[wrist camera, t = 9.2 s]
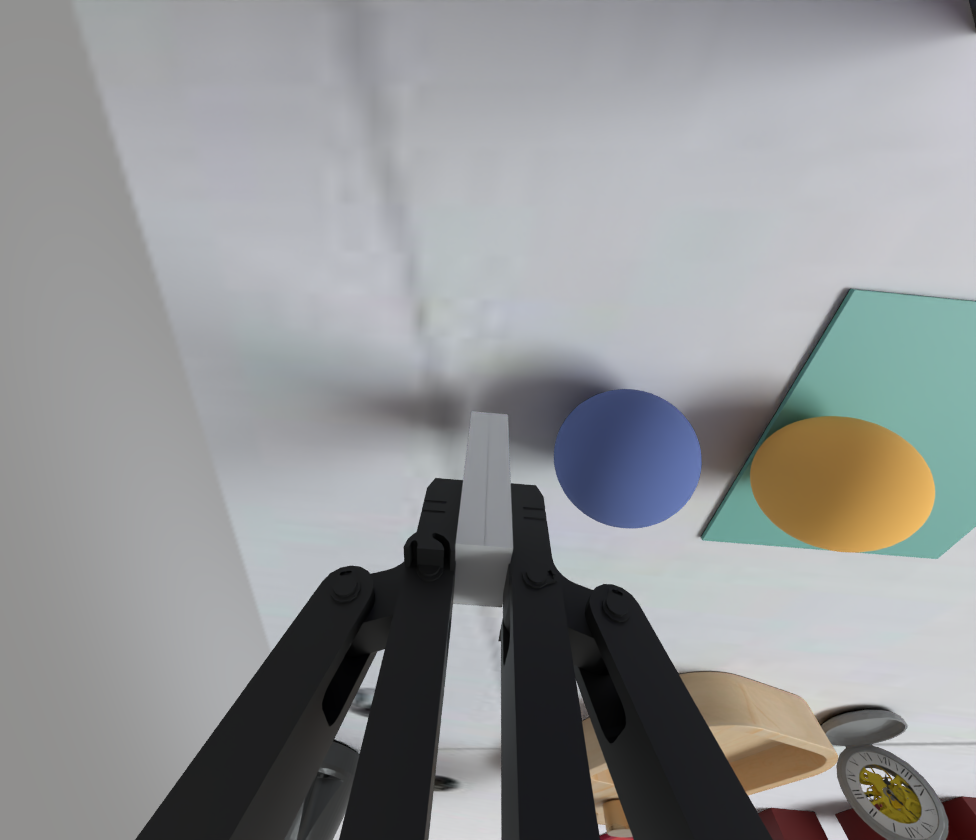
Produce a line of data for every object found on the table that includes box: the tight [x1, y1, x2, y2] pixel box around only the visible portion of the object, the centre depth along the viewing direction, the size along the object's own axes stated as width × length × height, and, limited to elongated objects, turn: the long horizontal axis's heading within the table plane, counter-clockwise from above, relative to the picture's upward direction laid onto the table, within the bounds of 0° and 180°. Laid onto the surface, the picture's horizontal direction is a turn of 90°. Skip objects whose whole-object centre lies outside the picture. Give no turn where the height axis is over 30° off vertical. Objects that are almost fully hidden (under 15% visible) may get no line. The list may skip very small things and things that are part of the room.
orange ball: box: [750, 416, 935, 552], centre depth 15 cm, size 6×6×6 cm
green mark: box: [701, 289, 976, 559], centre depth 18 cm, size 14×14×1 cm
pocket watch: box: [821, 710, 948, 840], centre depth 31 cm, size 8×8×10 cm
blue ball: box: [554, 389, 702, 528], centre depth 15 cm, size 6×6×6 cm
